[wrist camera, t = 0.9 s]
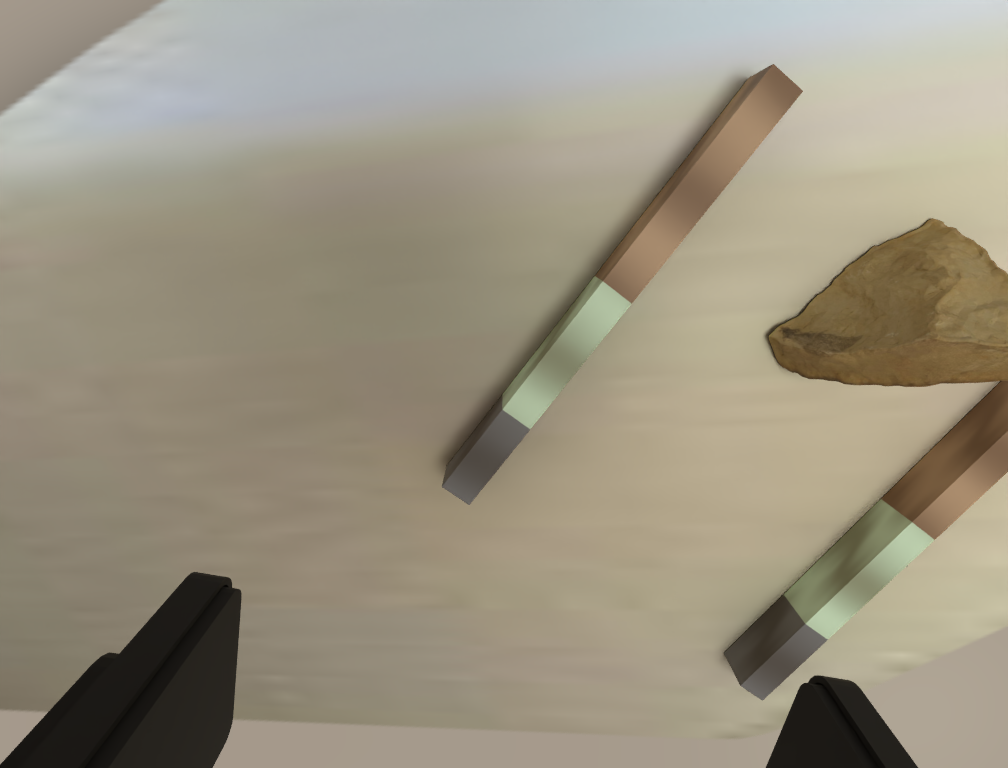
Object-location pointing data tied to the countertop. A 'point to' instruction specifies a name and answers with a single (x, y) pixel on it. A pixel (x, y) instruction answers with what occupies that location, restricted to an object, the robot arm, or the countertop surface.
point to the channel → (875, 537)
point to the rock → (905, 316)
